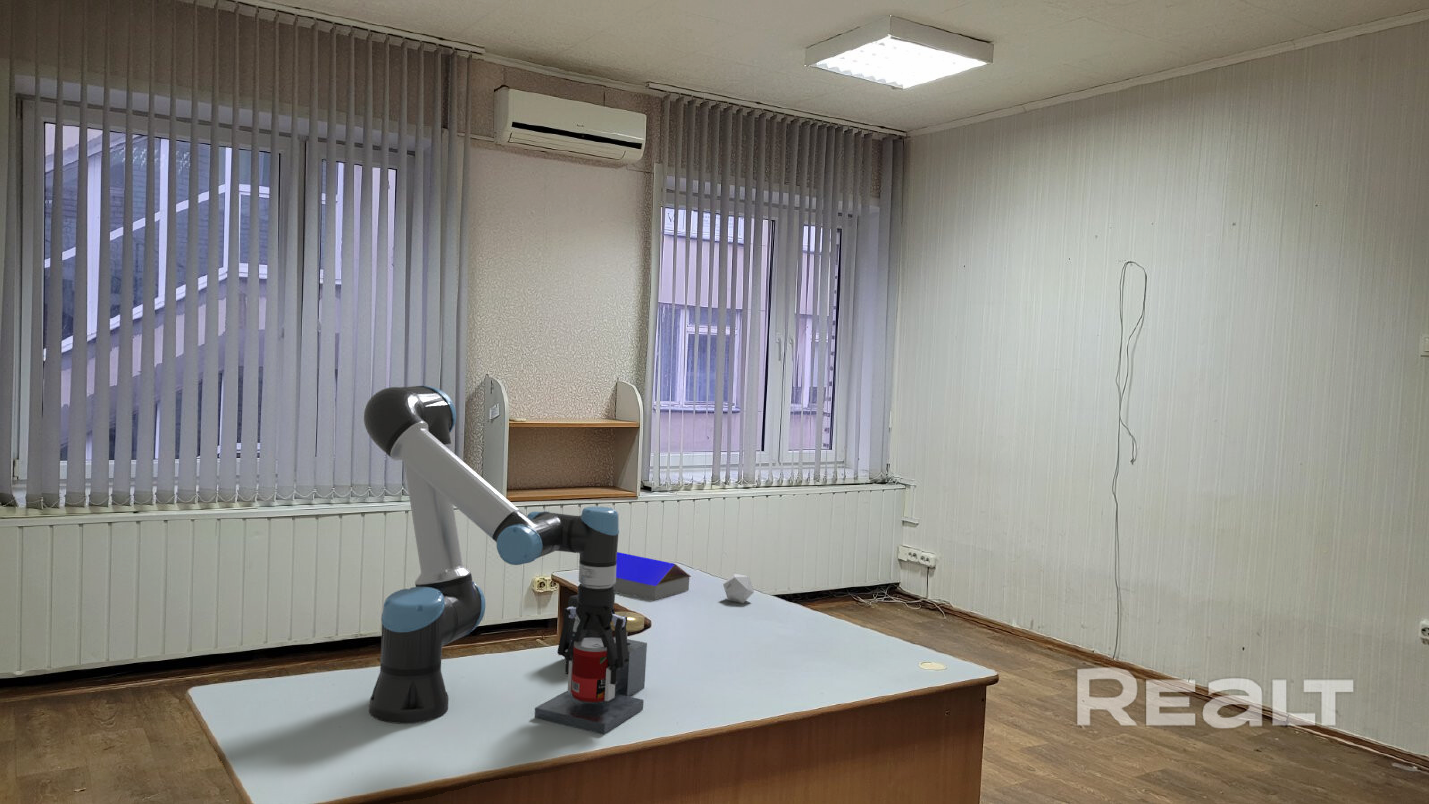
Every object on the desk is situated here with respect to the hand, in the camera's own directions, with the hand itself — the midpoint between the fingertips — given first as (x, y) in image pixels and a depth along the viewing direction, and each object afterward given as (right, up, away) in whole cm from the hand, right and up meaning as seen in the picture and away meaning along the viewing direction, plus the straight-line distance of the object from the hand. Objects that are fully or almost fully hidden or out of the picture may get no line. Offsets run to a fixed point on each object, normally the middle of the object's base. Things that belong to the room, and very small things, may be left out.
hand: (590, 694), depth 207 cm
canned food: (0, 0, 0) cm, 0 cm away
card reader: (-6, -2, +33) cm, 34 cm away
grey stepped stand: (+2, -4, +6) cm, 7 cm away
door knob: (+5, +3, +15) cm, 16 cm away
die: (+32, -1, +100) cm, 105 cm away
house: (+2, +1, +109) cm, 109 cm away
